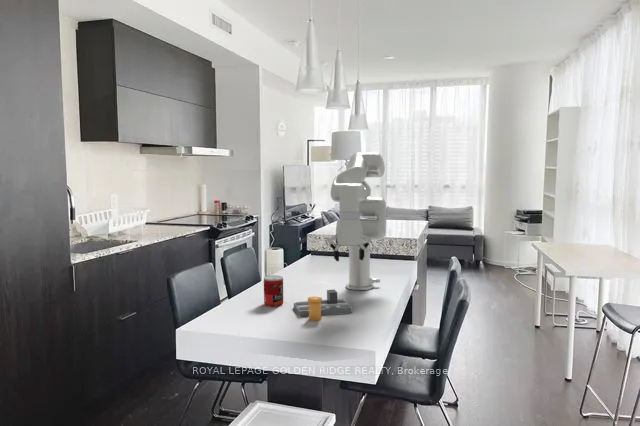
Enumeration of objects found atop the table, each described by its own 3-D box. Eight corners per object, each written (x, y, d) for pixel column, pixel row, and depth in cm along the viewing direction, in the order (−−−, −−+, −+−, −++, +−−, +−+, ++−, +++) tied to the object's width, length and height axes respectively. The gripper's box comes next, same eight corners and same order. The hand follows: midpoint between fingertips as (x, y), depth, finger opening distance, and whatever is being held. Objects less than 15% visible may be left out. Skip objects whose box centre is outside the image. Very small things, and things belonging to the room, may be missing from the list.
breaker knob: (334, 302, 182) (334, 289, 181) (337, 305, 177) (337, 292, 177) (327, 302, 181) (327, 289, 180) (329, 305, 177) (329, 292, 176)
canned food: (275, 307, 182) (275, 280, 181) (260, 305, 186) (259, 278, 185) (287, 303, 188) (287, 276, 187) (271, 300, 193) (271, 274, 192)
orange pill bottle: (320, 316, 171) (320, 296, 170) (323, 320, 166) (323, 299, 165) (306, 317, 170) (306, 297, 169) (309, 321, 164) (309, 300, 164)
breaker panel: (342, 304, 186) (342, 296, 186) (351, 312, 175) (351, 304, 175) (293, 307, 182) (293, 300, 182) (299, 316, 170) (299, 308, 170)
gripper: (367, 215, 184) (367, 257, 185) (325, 216, 181) (325, 259, 182) (373, 216, 177) (373, 261, 178) (329, 217, 173) (329, 262, 175)
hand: (349, 260), depth 180 cm, fingers open, 9 cm apart
